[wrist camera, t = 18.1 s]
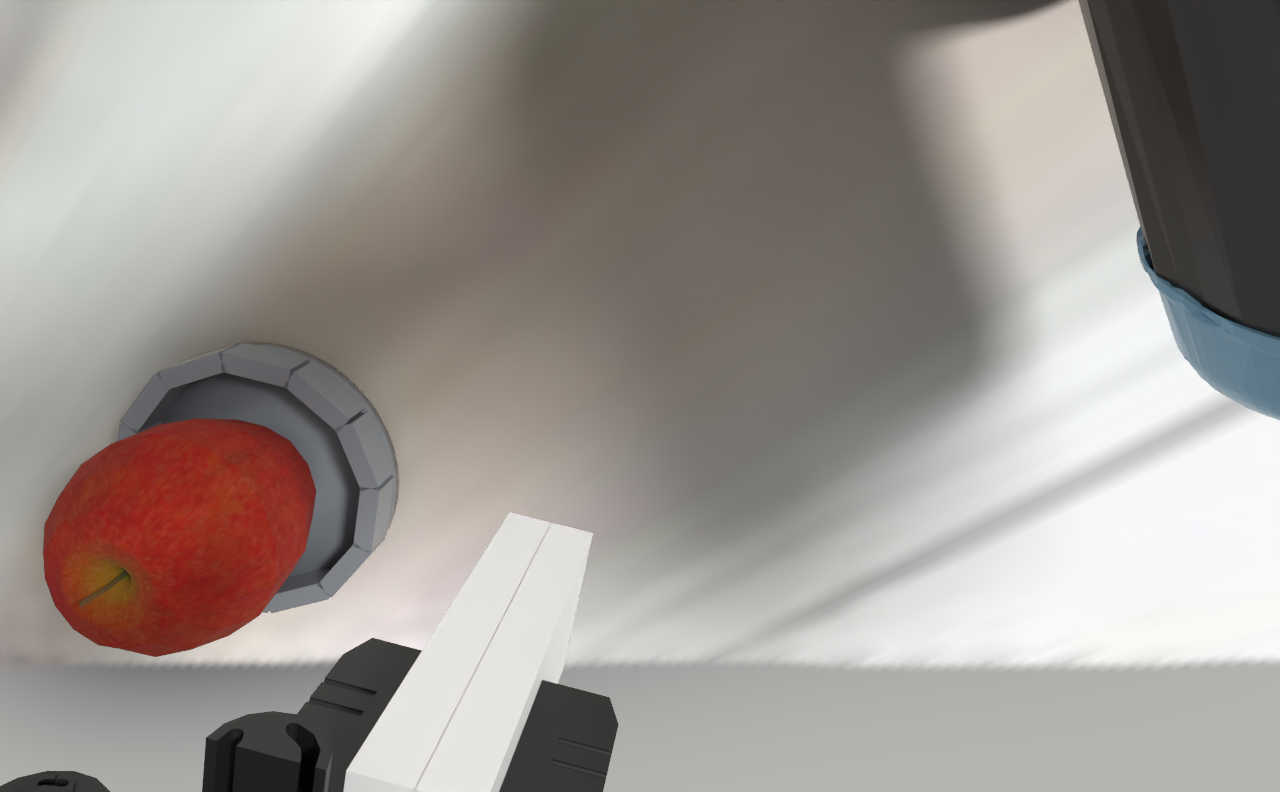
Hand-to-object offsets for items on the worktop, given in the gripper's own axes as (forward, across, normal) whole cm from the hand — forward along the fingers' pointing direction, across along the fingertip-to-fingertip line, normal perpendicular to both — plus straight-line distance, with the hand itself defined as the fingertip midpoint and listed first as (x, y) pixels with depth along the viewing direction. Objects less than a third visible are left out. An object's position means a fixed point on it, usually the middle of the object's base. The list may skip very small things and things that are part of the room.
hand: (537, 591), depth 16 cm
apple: (+29, -19, -15) cm, 37 cm away
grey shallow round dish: (+29, -19, -15) cm, 38 cm away
